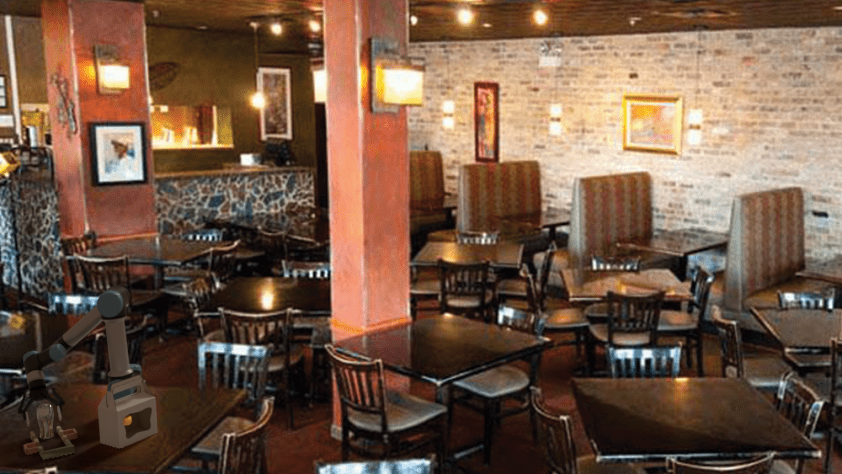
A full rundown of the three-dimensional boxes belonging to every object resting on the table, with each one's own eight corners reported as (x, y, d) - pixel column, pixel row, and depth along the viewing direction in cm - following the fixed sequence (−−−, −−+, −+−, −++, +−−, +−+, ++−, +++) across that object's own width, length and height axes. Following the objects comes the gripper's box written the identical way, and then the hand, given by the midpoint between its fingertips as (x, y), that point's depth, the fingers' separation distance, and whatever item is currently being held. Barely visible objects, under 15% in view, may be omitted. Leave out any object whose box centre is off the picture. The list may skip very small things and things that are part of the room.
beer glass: (49, 440, 382) (46, 409, 380) (35, 439, 383) (32, 407, 381) (58, 434, 389) (56, 403, 386) (45, 433, 390) (42, 402, 388)
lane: (30, 437, 386) (29, 429, 385) (60, 430, 393) (59, 423, 392) (42, 460, 360) (42, 452, 360) (74, 453, 368) (74, 445, 367)
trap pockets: (20, 444, 377) (20, 439, 377) (74, 433, 390) (74, 428, 390) (26, 455, 366) (25, 449, 365) (81, 443, 378) (81, 437, 378)
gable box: (119, 449, 371) (115, 389, 367) (99, 443, 378) (95, 384, 374) (158, 432, 390) (154, 375, 386) (138, 427, 397) (135, 370, 393)
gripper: (63, 381, 403) (72, 420, 394) (6, 391, 390) (14, 432, 380) (65, 373, 398) (74, 413, 388) (7, 383, 385) (15, 424, 375)
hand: (44, 422), depth 384 cm, fingers open, 13 cm apart
